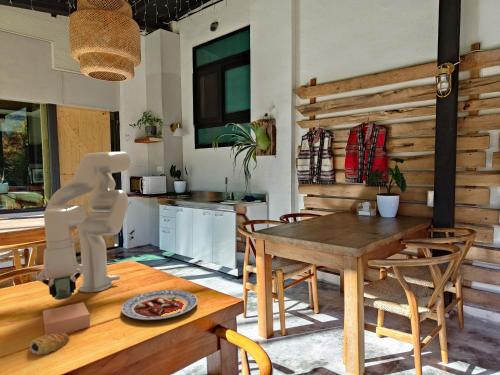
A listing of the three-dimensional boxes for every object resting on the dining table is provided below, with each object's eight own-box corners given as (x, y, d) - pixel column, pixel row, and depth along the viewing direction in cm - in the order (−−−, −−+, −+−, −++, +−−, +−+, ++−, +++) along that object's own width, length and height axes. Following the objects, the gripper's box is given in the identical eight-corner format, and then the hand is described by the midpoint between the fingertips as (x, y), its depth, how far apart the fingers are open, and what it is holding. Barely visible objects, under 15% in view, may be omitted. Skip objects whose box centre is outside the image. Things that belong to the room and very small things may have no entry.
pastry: (61, 337, 104) (60, 324, 104) (74, 343, 101) (74, 330, 101) (27, 351, 96) (26, 338, 96) (40, 358, 93) (40, 344, 93)
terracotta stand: (84, 313, 120) (83, 302, 120) (90, 326, 110) (89, 314, 110) (43, 322, 114) (42, 310, 114) (45, 337, 104) (45, 324, 104)
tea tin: (71, 292, 129) (69, 273, 128) (72, 297, 124) (71, 277, 123) (53, 295, 126) (52, 276, 125) (55, 301, 121) (53, 281, 120)
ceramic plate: (147, 333, 106) (147, 323, 105) (107, 310, 123) (107, 302, 123) (212, 307, 125) (212, 298, 124) (170, 290, 142) (169, 283, 142)
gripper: (84, 238, 131) (87, 285, 132) (29, 245, 121) (34, 296, 123) (87, 242, 124) (91, 291, 126) (30, 250, 115) (35, 304, 117)
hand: (63, 293), depth 125 cm, fingers closed on tea tin, 5 cm apart
